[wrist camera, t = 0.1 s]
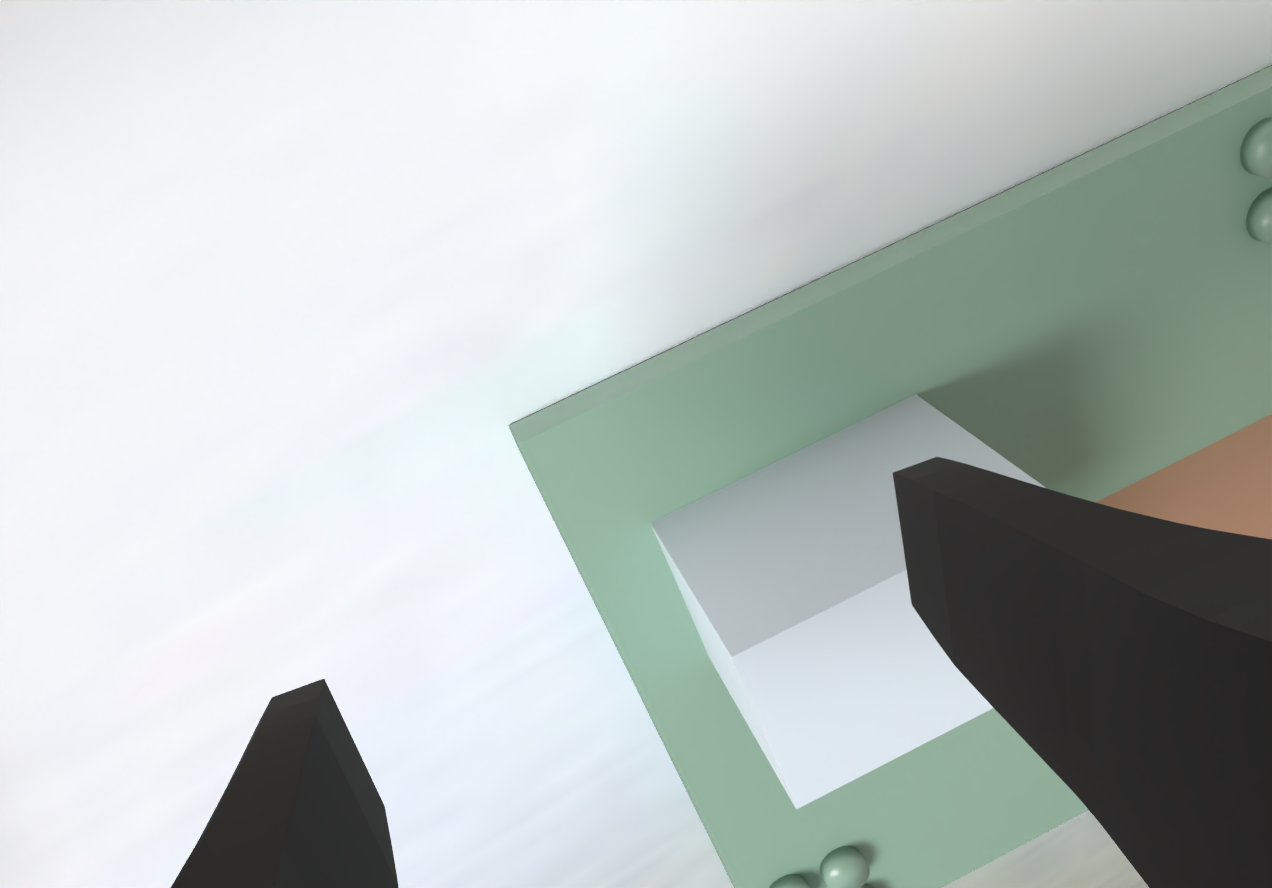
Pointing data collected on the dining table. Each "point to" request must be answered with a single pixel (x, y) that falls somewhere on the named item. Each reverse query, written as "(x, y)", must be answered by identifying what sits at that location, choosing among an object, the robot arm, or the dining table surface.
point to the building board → (971, 397)
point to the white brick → (826, 600)
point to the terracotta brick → (1212, 486)
